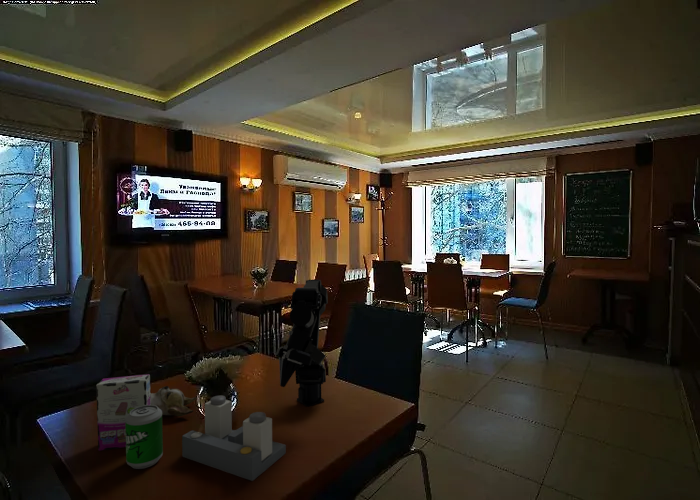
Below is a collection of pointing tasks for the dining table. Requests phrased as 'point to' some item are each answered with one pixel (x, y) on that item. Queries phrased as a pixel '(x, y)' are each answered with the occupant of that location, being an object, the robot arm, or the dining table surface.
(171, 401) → the ceramic sculpture
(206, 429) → the button
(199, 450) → the switch panel
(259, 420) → the button
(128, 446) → the soda can
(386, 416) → the dining table surface
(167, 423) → the dining table surface
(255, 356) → the dining table surface
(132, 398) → the candy bar box
